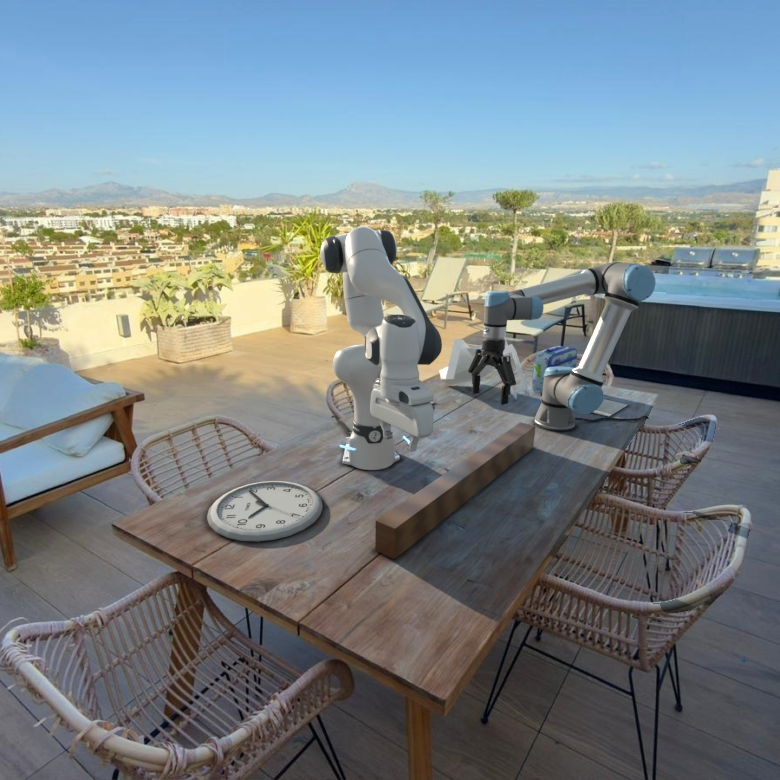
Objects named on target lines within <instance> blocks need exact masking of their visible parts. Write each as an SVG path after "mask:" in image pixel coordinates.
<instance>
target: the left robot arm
mask: <svg viewBox="0 0 780 780" xmlns="http://www.w3.org/2000/svg"><path fill="white" fill-rule="evenodd" d="M397 254H398V245H397V242H396V239H395V236H394V234H393V233H392V232H391V231H390V230H386V229H377V230H374V229H372V228H371V227H367V226H359V227H355V228H353V229H352V230H351V231H350V232H348V233H344V234H343V233H342V234H338V235H331V236H328V237H325V238H324V239H323V241H322V242H321V246H320V250H319V257H320V261H321V263H322V266H323V267H324V268H325V270H326V271H327V272H328V273H330V274H337V275H339V274H341V273H342V291H343V299H344V300H343V301H344V305H345V307H344V308H345V312H346V319H347V324H348V326H349V327H350V329H351V330H353V331H355V332H357V333H359V334H360V335H361V336H362V337H363V339H364V344H362V343H361V344H356V345H350V346H346V347H345V348H341V349H339V350H338V351H336V352H335V354H334V356H333V359H332V369H333V372H334V375H335V376H336V378H338V380H340V381H341V382H343V383H344V384H345V385H346V386H347V387H348V389H349V390H350V392H351V395H352V400H353V411H354V413H353V414H354V417H353V418H354V419H353V421H352V431H349V429H348V427H347V426H346V425H345V424H344V423H343V422H342V421H341V420H340V418H338V416H337V415H336V414H332V416H331V418H332V419H333V418H334V419H335V420H336V421H337V422H338V423H339V425H341V427H342V428H343V429H344V430H345V432H346V433H347V435H348V436H346V437H345V445H343V444H339V448H342V449H344V453H343V457H342V464H344V465H347V466H351V467H353V468H357V469H360V470H365V471H378V470H384V469H387V468H389V467H391V466H393V464H394V463H396V462H398V461H400V460H401V456H400V455H399V454H398V453H397V452H396V437H395V436H394V434H393V433H394V432H393V430H392V429H391V427H394V428H396V429H397V430H400V431H402V432H404V433H407V434H408V435H409V436H408V437H409V438H410V439H408V438H407V437H406V436H405V435H403V436H402V439H404V440H405V442H406V450H408V451H409V452H411V453H414V452H416V451H417V449H418V445H417V444H418V443H419V441H420V439H423V438H427V437H430V436H431V435H432V434H433V432H434V408H433V407H434V406H433V404H431V403H430V401H433V399H434V400H435V398H434V397H435V394H434V392H433V391H432V389H430V388H428V386H427V385H425V383H424V382H423V381H422V380H421V379H420V371H419V367H418V365H419V366H421V365H422V366H429V365H431V364H433V363H434V362H435V360H437V358H438V357H439V356H440V354H441V353H442V349H443V342H442V336H441V333H440V332H439V330H438V329H437V327H436V326H435V325H434V323H433V322H432V321H431V320H430V317H429V316H428V314H427V312H426V310H425V308H424V306H423V304H422V303H421V300H420V298H419V297H418V294H417V293H416V291H415V289H414V288H413V286H412V284H411V282H410V281H409V279H408V277H406V276H405V275H403V274H401V273H400V272H399V271H398V270H397V269H396V268H395V267H394V266H393V263H394V262H395V261H396V259H397ZM382 301H385V302H389V303H391V304H393V305H395V306H396V307H398V308H399V309H400V310H401V312H402V314H390V315H388V316H385V314H384V309H383V303H382Z"/></svg>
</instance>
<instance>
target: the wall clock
mask: <svg viewBox="0 0 780 780" xmlns="http://www.w3.org/2000/svg"><path fill="white" fill-rule="evenodd" d="M323 507H324V506H323V501H322V498H321V497H320V495H318V492H316V491H314V490H312V489H311V488H310V487H308V486H306V485H302V484H299V483H297V482H291V481H281V480H269V481H268V480H267V481H258V482H253V483H248V484H245V485H242V486H239V487H235V488H233V489H232V490H229V491H228V492H226V493H224V494H223V495H221V496H220V497H219V498H217V499H216V500H215V501H214V502H213V503H212V504H211V505H210V507H209V509H208V512H207V514H206V515H207V516H206V520H207V523H208V525H209V527H210V528H211V529H212V530H213V531H214V532H215V533H216V534H218V535H220V536H223V537H224V538H227V539H231V540H236V541H239V542H240V541H241V542H258V543H259V542H264V541H265V542H267V541H276V540H278V539H283V538H287V537H290V536H293V535H295V534H298V533H301V532H302V531H305V529H308V528H309V527H310V526H311V525H313V524H314V523H315V522H316V521H317V520H318V519H319V518H320V516H321V514H322V511H323Z"/></svg>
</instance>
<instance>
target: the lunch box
mask: <svg viewBox="0 0 780 780" xmlns="http://www.w3.org/2000/svg"><path fill="white" fill-rule="evenodd" d="M577 359H578V351H577V348H575V347H567V346H563V345H556V346H553V347H550V348H546V349H544V350H541V351H539V352H538V353H537V354H536V355H535V357H534V360H533V367H532V380H531V382H532V383H531V385H532V386H531V388H532V392H534V393H539V394H542V391H543V382H544V373H545V370H546V369H547V368H548V367H557V366H560V367H572V368H577Z"/></svg>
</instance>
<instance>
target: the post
mask: <svg viewBox="0 0 780 780" xmlns="http://www.w3.org/2000/svg"><path fill="white" fill-rule="evenodd" d="M535 434H536V425H534V424H529V423H525V422H519V423H518V424H516V425H514V426H513V427H511V428H510V429H508V430H507V431H505V432H504V433H503V434H501V435H499V436H498V437H496V438H495V439H494V440H492V441H490V443H488V444H486V445H485V446H483V447H482V448H481V449H479V450H478V451H476V452H474V453H473V454H471V455H470V456H468V457H467V458H465V459H464V460H463V461H461V462H459V463H458V464H457V465H455V466H453V467H452V468H451V469H449V470H448V471H446V472H445V473H444V474H442V475H441V476H439V477H437V478H436V479H435V480H433V481H432V482H430V483H428V484H427V485H426V486H424V487H423V488H422V489H420V490H419V491H417V492H415V493H414V494H413V495H411V496H410V497H408V498H407V499H405V500H404V501H402V502H401V503H399V504H398V505H396V506H395V507H393V508H392V509H390V510H389V511H387V512H386V513H384V514H383V515H381V516H380V517H379V518H377V519H376V520H375V534H374V535H375V537H374V538H375V539H374V541H375V544H374V545H375V546H374V547H375V548H374V551H375V552H377V553H380V554H382V555H384V556H386V557H388V558H390V559H392V560H396V559H397V558H398V557H400V556H401V555H402V554H403V553H405V551H407V550H408V549H409V548H410V547H412V546H413V545H414V544H415V543H417V542H418V541H419V540H420V539H421V538H423V537H424V536H426V535H427V534H428V533H429V532H430V531H432V530H433V529H434V528H436V527H437V526H438V525H440V523H441V522H443V521H444V520H446V518H447V517H449V516H450V515H452V514H453V513H454V512H455V511H457V510H458V509H459V508H460V507H461V506H463V505H464V504H465V503H466V502H467V501H469V500H470V499H472V497H474V496H475V495H477V493H480V491H481V490H482V489H484V488H485V487H486V486H487V485H489V484H490V483H491V482H492V481H493V480H495V479H496V478H497V477H499V476H500V475H501V474H502V473H504V472H505V471H506V470H507V469H509V468H510V467H511V466H512V465H514V464H515V463H516V462H517V461H518V460H520V459H521V458H522V457H523V456H524V455H526V454H527V453H529V452H530V451H531V450H532V449H533V448H534V444H535Z"/></svg>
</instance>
